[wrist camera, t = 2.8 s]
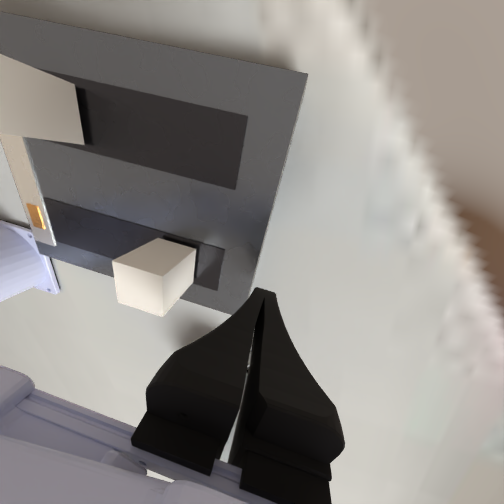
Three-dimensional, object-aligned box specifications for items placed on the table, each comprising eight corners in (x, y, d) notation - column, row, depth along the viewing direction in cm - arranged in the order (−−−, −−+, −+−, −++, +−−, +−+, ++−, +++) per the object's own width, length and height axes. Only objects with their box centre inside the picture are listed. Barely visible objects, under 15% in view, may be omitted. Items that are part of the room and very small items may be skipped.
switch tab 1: (43, 134, 12) (-60, 118, 8) (28, 73, 10) (-101, 24, 7) (84, 145, 11) (-4, 133, 8) (74, 84, 10) (-36, 38, 7)
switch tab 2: (158, 271, 14) (117, 302, 11) (158, 237, 13) (111, 260, 10) (193, 282, 14) (162, 316, 11) (196, 248, 13) (162, 276, 9)
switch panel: (63, 245, 19) (37, 254, 17) (4, 28, 12) (-53, -1, 10) (247, 302, 17) (241, 319, 15) (304, 91, 10) (308, 72, 8)
